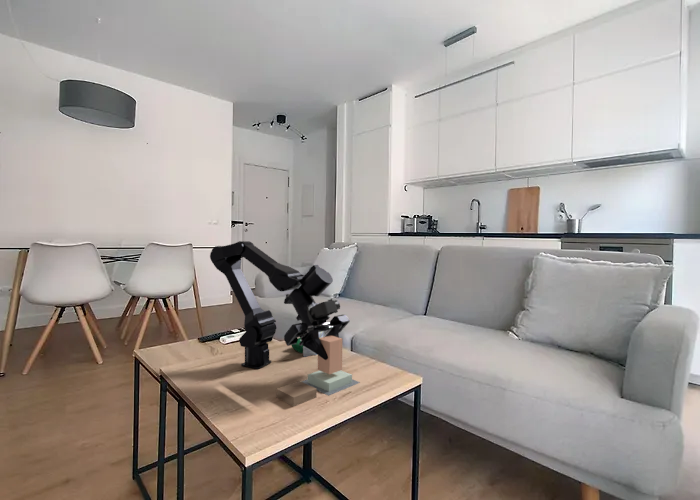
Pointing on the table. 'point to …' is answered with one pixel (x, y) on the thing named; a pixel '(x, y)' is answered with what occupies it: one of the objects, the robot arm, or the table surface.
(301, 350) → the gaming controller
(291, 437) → the table surface
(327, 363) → the terracotta brick
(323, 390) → the baseplate
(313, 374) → the foundation slab
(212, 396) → the table surface
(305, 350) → the medicine box
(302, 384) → the walnut stand
